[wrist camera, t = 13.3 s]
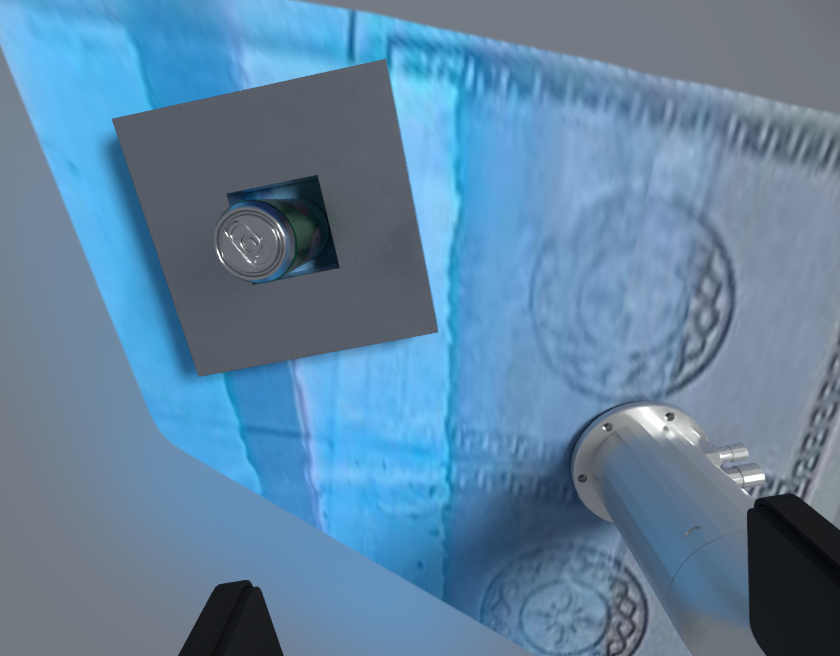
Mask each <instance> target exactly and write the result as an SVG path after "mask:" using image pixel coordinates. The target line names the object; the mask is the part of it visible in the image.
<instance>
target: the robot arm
mask: <svg viewBox="0 0 840 656" xmlns="http://www.w3.org/2000/svg"><path fill="white" fill-rule="evenodd" d="M604 424H605V425H604ZM748 456H749V455H748V450H747V448H746V447H745V446H744V444H742V443H739V444H733V445H727V446H725V447H720V448H716V447H715V446H711V445H710V444H709V441H708V439H707V437H706V435H705V433H704V431H703V430H702V428H701V427H700V426H699V425H698V423H697V422H696V421H694V420H693V419H692V418H691V417H690V416H689V415H687V414H686V413H684V412H683V411H681V410H680V409H678V408H676V407H673V406H671V405H668V404H665V403H660V402H654V401H639V402H633V403H628V404H624V405H621V406H619V407H616V408H613V409H611V410H610V411H608V412H606V413H604V414H602V415H601V416H600V417H598V418H597V419H596V420H595V421H593V422H592V423H591V424H590V425H589V426H588V427H587V429H586V430H585V431H584V432H583V433H582V435H581V437H580V438H579V440H578V442H577V443H576V446H575V449H574V451H573V454H572V461H571V477H572V481H573V484H574V487H575V489H576V491H577V493H578V495H579V497H580V499H581V500H582V502H583V503H584V504H585V506H586V507H587V508H588V509H589V510H590V511H591V512H593V513H594V514H595V515H597V516H598V517H600V518H602V519H603V520H605V521H608V522H611V523H613V524H615V525H616V527H617V529H618V531H619V532H620V534H621V536H622V537H623V539H624V541H625V543H626V544H627V546H628V548H629V549H630V551H631V553H632V555H633V556H634V558H635V560H636V561H637V563H638V565H639V567H640V568H641V570H642V572H643V573H644V575H645V577H646V579H647V580H648V582H649V584H650V586H651V587H652V589H653V591H654V592H655V594H656V596H657V598H658V599H659V601H660V603H661V604H662V606H663V608H664V610H665V611H666V613H667V615H668V616H669V618H670V620H671V622H672V623H673V625H674V627H675V629H676V630H677V632H678V634H679V636H680V637H681V639H682V641H683V642H684V644H685V645H686V647H687V648H688V649H689V651H690V652H691V653H692V655H693V656H840V530H839V529H838V528H836V527H835V526H834V525H833V524H831V523H830V522H829V521H828V520H826V519H825V518H824V517H823V516H822V515H820V514H819V513H818V512H817V511H815V510H814V509H813V508H812V507H810V506H809V505H808V504H807V503H805V502H804V501H803V500H802V499H800V498H799V497H797V496H796V495H794V494H790V493H788V494H782V495H776V496H769V497H763V498H758V499H756V501H755V500H754V499H753V498H752V497H751V496H750V495H749V494H748V493H747V492H746V491H745V490H743V489H742V488H749V487H755V486H761V485H764V484H765V476H764V473H763V471H762V469H761V468H760V467H759V465H758V464H756V463H751V464H745V465H738V466H734V467H732V468H727V469H721V468H720V466H721V465H722V462H728V461H731V462H733V461H739V460H745V459H748ZM178 656H284V655H283V653H282V650H281V647H280V644H279V641H278V638H277V635H276V632H275V629H274V627H273V623H272V620H271V617H270V615H269V612H268V609H267V606H266V603H265V600H264V597H263V594H262V591H261V590H260V588H259V587H253V586H252V584H251V582H250V581H249V580H243V581H237V582H230V583H224V584H219V585H218V586H216V587H215V589H214V590H213V592H212V594H211V596H210V597H209V599H208V601H207V603H206V605H205V607H204V608H203V610H202V612H201V614H200V616H199V618H198V620H197V622H196V623H195V625H194V627H193V629H192V631H191V633H190V635H189V637H188V638H187V640H186V642H185V644H184V646H183V648H182V649H181V651H180V653H179V655H178Z"/></svg>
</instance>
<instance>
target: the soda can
mask: <svg viewBox="0 0 840 656" xmlns="http://www.w3.org/2000/svg"><path fill="white" fill-rule="evenodd" d="M328 237H329V228H328V223H327V220H326V218H325V216H324V214H323V213H322V211H321V210H320V209H319V208H318V207H317V206H316V205H314V204H313V203H311V202H309V201H307V200H303V199H262V200H245V201H240V202H238V203H236V204H233V205H232V206H230V207H229V208H228V209H227V210H226V211H224V213H223V214H222V215H221V217H220V218H219V220H218V222H217V225H216V228H215V231H214V237H213V244H214V249H215V252H216V255H217V257H218V259H219V261H220V262H221V264H222V265H223V266H224V267H225V269H226V270H228V271H229V272H230V273H232V274H233V275H234V276H236V277H238V278H239V279H242V280H244V281H247V282H251V283H258V284H259V283H268V282H272V281H275V280H277V279H279V278H280V277H282V276H284V275H286V274H287V273H289V272H291V271H292V270H294V269H296V268H298V267H299V266H301V265H303V264H305V263H306V262H308V261H310V260H311V259H313V258H315V257H317V256H318V255H319V254H320V253H321V252H322V251H323V250H324V248H325V246H326V244H327V241H328Z"/></svg>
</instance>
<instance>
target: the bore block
mask: <svg viewBox="0 0 840 656" xmlns="http://www.w3.org/2000/svg"><path fill="white" fill-rule="evenodd" d="M112 121H113V124H114V127H115V130H116V133H117V136H118V139H119V142H120V145H121V148H122V151H123V154H124V157H125V159H126V162H127V165H128V168H129V171H130V174H131V177H132V180H133V183H134V186H135V189H136V192H137V195H138V198H139V201H140V204H141V207H142V210H143V213H144V216H145V219H146V222H147V225H148V228H149V231H150V234H151V237H152V240H153V243H154V246H155V249H156V251H157V254H158V257H159V260H160V263H161V266H162V269H163V272H164V275H165V278H166V281H167V284H168V287H169V290H170V293H171V296H172V299H173V302H174V305H175V308H176V311H177V314H178V317H179V320H180V323H181V326H182V329H183V332H184V335H185V338H186V340H187V343H188V346H189V349H190V352H191V355H192V358H193V361H194V364H195V367H196V370H197V373H198V376H199V377H200V376H205V375H211V374H216V373H221V372H227V371H232V370H238V369H243V368H248V367H254V366H259V365H265V364H270V363H275V362H281V361H286V360H292V359H297V358H302V357H308V356H313V355H318V354H324V353H329V352H335V351H340V350H345V349H351V348H356V347H362V346H367V345H372V344H378V343H383V342H389V341H394V340H399V339H405V338H410V337H415V336H421V335H426V334H432V333H437V332H438V326H437V319H436V314H435V309H434V303H433V298H432V293H431V288H430V283H429V277H428V272H427V267H426V262H425V256H424V251H423V246H422V241H421V236H420V230H419V225H418V220H417V215H416V209H415V204H414V199H413V194H412V189H411V183H410V178H409V173H408V168H407V163H406V157H405V152H404V147H403V142H402V136H401V131H400V126H399V121H398V116H397V110H396V105H395V100H394V95H393V89H392V84H391V79H390V74H389V69H388V66H387V62H386V59H384V60H379V61H374V62H370V63H365V64H361V65H356V66H352V67H347V68H342V69H338V70H333V71H329V72H324V73H320V74H315V75H310V76H306V77H301V78H297V79H292V80H288V81H283V82H278V83H274V84H269V85H265V86H260V87H256V88H251V89H246V90H242V91H237V92H233V93H228V94H224V95H219V96H214V97H210V98H205V99H201V100H196V101H192V102H187V103H182V104H178V105H173V106H169V107H164V108H160V109H155V110H150V111H146V112H141V113H137V114H132V115H128V116H123V117H118V118H114V119H112ZM317 178H319V183H320V187H321V191H322V195H323V199H324V203H325V208H326V212H327V216H328V220H329V224H330V229H331V233H332V237H333V241H334V245H335V249H336V254H337V258H338V262H339V264H334V265H329V266H324V267H319V268H314V269H308V270H303V271H298V272H293V273H288V274H286V275H284V276H282V277H280V278H279V279H277V280H275V281H272V282H268V283H259V284H258V283H251V282H247V281H244V280H242V279H239V278H238V277H236V276H234V275H233V274H232V273H230V272H229V271H228V270H226V269H225V267H224V266H223V265H222V264H221V262H220V261H219V259H218V257H217V255H216V252H215V249H214V244H213V237H214V231H215V228H216V225H217V222H218V220H219V218H220V217H221V215H222V214H223V213H224V211H226V210H227V209H228V208H229V207H230V206H232V205H233V204H236V203H238V202H240V201H245V199H244V196H243V194H244V193H249V192H254V191H258V190H263V189H268V188H273V187H278V186H283V185H287V184H292V183H297V182H302V181H307V180H312V179H317Z"/></svg>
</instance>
